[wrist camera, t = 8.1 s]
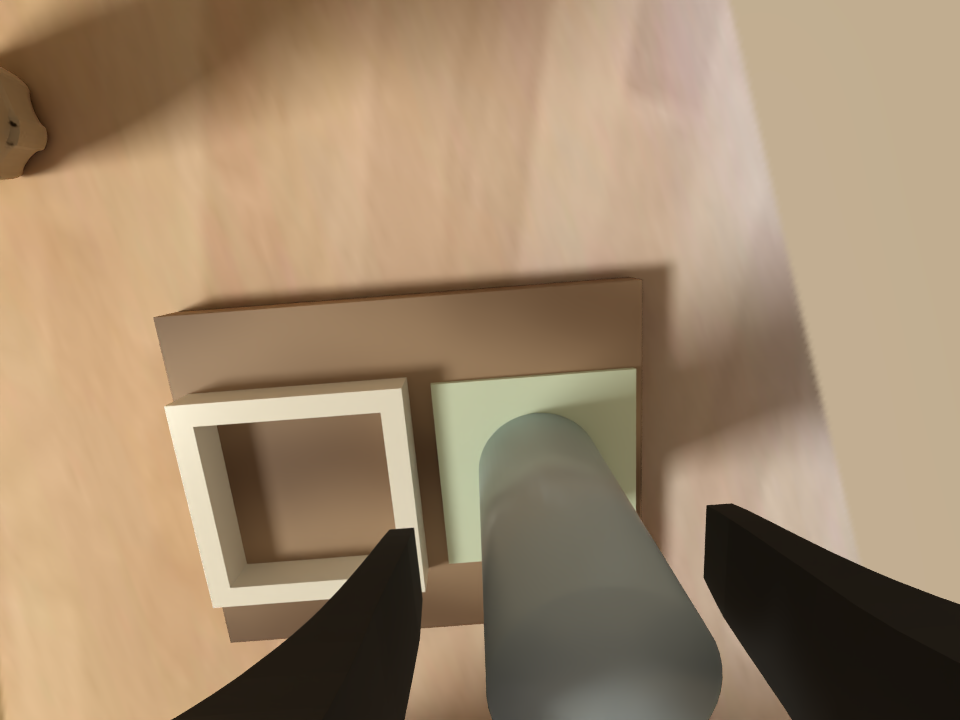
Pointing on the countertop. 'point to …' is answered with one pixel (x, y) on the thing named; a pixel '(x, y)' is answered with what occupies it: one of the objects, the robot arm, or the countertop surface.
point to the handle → (17, 126)
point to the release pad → (493, 402)
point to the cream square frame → (213, 497)
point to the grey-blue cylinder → (580, 590)
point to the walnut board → (359, 438)
